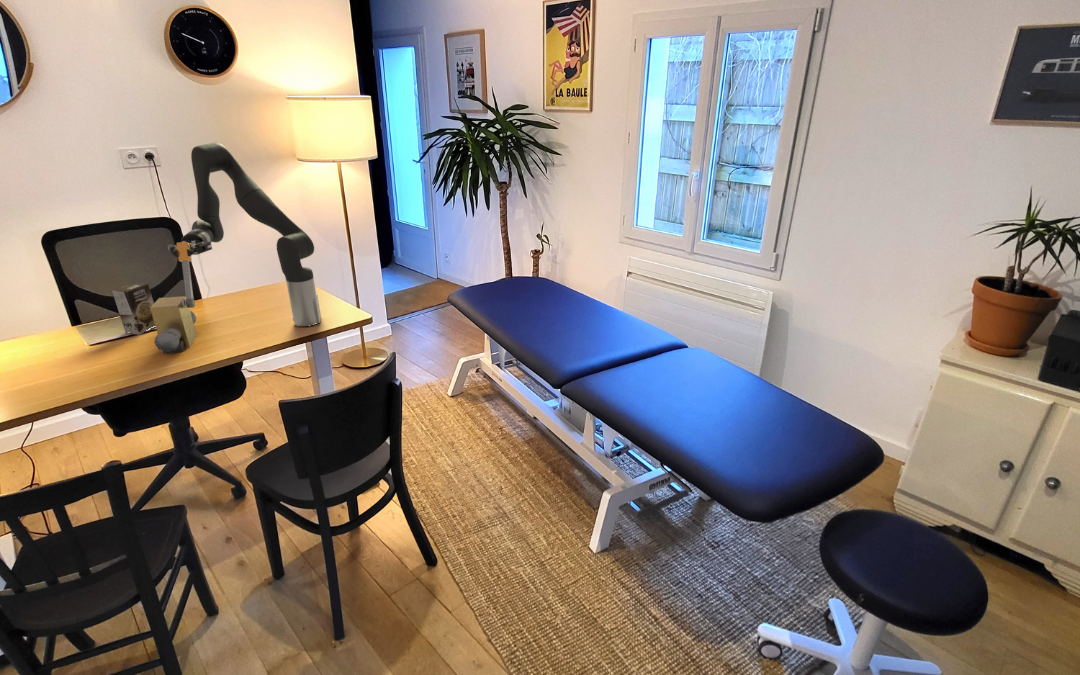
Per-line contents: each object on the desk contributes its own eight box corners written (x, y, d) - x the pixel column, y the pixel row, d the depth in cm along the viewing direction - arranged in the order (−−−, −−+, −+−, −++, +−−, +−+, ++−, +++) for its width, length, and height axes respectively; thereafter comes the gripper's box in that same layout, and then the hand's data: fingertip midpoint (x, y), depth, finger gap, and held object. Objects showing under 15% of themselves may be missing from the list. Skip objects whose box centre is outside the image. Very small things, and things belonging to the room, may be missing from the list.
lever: (197, 307, 186) (190, 243, 186) (194, 307, 183) (186, 241, 182) (187, 308, 185) (179, 244, 185) (184, 307, 182) (176, 242, 182)
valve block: (204, 329, 199) (193, 288, 192) (187, 354, 180) (174, 310, 174) (176, 331, 197) (164, 290, 190) (156, 357, 178) (142, 313, 172)
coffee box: (140, 335, 194) (126, 291, 187) (124, 333, 195) (110, 290, 188) (161, 325, 202) (148, 283, 195) (146, 323, 203) (133, 281, 196)
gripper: (171, 232, 193) (154, 243, 178) (215, 230, 197) (203, 241, 182) (176, 253, 196) (160, 266, 181) (220, 250, 200) (208, 263, 185)
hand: (182, 253), depth 182 cm, fingers closed on lever, 3 cm apart
